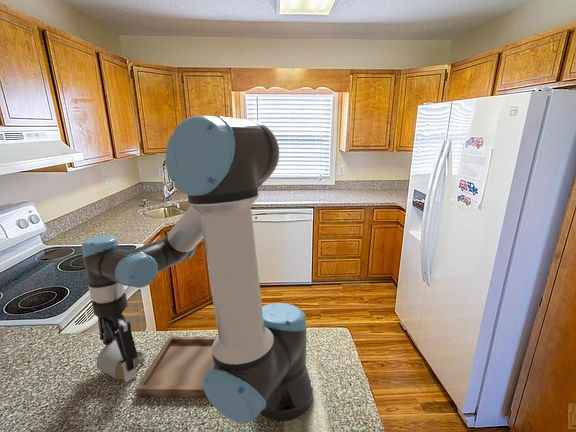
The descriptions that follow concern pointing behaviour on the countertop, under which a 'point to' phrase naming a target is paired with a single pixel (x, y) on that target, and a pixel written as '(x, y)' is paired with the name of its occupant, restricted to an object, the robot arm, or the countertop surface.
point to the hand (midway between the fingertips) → (122, 370)
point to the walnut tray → (178, 369)
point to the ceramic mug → (114, 361)
